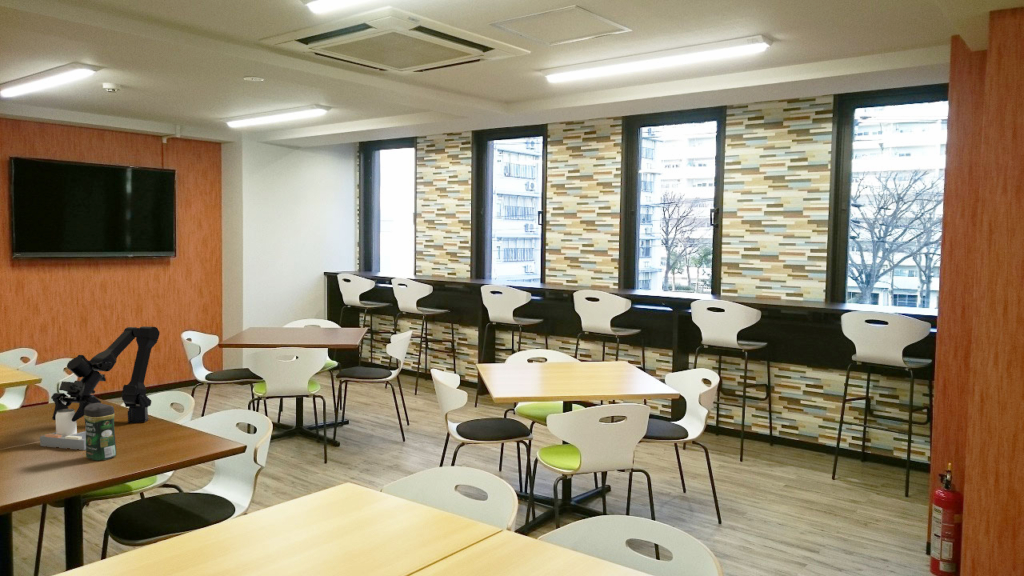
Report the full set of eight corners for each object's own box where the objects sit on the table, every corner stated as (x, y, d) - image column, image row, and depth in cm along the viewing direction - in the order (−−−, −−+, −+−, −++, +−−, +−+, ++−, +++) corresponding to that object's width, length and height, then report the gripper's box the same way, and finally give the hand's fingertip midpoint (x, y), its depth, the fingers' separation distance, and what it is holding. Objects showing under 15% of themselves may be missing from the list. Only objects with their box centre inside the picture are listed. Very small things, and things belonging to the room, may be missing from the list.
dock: (66, 438, 277) (65, 427, 277) (108, 442, 271) (108, 430, 271) (40, 445, 267) (39, 434, 267) (84, 450, 261) (83, 438, 261)
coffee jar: (82, 458, 251) (79, 404, 250) (106, 452, 258) (103, 399, 256) (96, 462, 246) (93, 407, 244) (120, 457, 252) (117, 403, 251)
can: (75, 444, 270) (73, 411, 269) (54, 445, 267) (53, 413, 267) (78, 439, 276) (77, 407, 275) (58, 441, 273) (57, 409, 273)
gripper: (54, 371, 277) (28, 406, 267) (92, 373, 271) (67, 409, 261) (73, 388, 285) (49, 423, 275) (111, 390, 279) (88, 426, 269)
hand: (62, 420), depth 270 cm, fingers open, 9 cm apart
